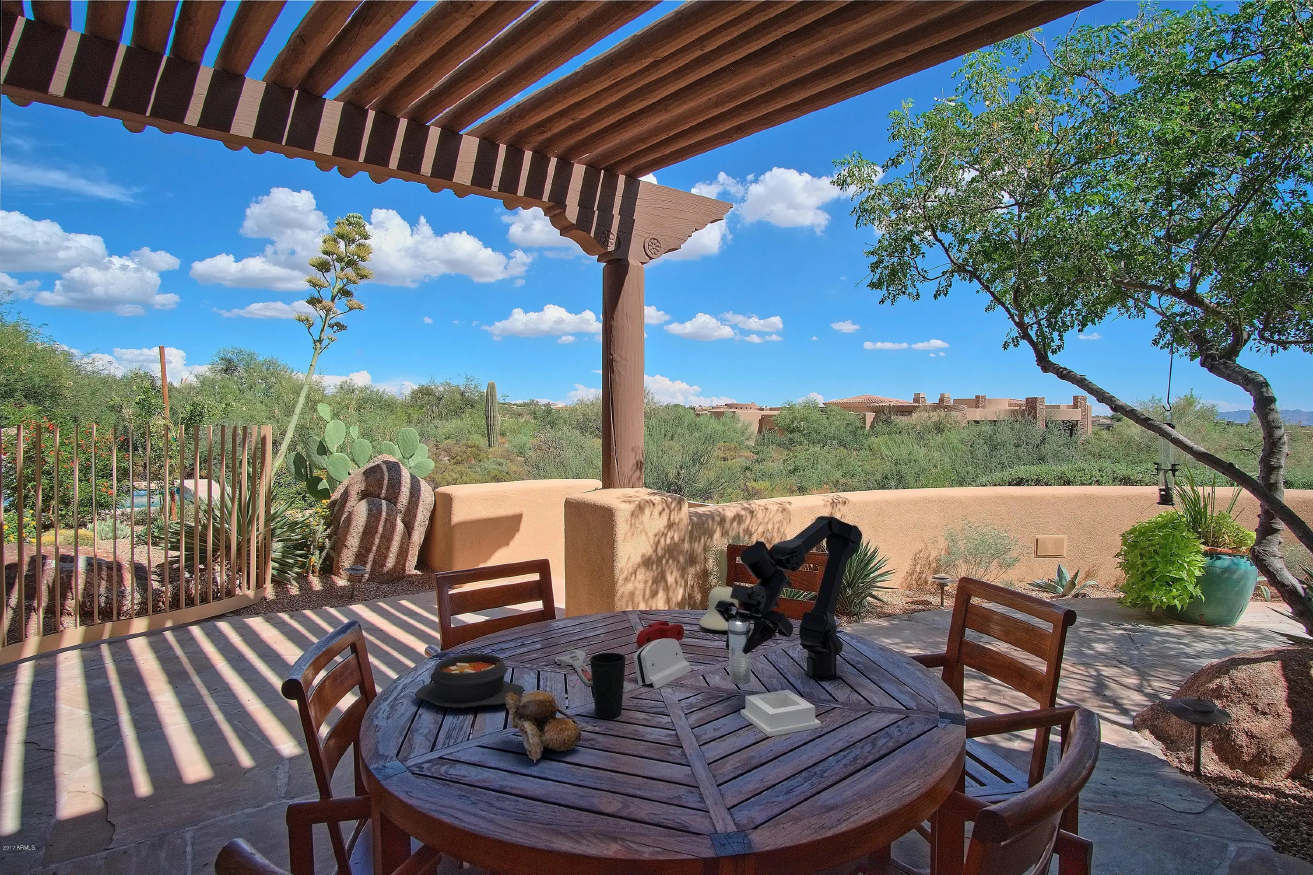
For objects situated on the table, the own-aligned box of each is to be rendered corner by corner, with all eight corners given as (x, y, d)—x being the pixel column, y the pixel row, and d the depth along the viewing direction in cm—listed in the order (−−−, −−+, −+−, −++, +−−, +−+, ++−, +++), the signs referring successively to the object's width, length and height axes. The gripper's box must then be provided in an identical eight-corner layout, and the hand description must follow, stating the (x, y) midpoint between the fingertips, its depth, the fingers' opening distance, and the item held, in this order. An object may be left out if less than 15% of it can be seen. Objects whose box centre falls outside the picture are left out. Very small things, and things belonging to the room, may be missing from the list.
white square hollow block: (789, 706, 150) (789, 687, 150) (820, 727, 139) (820, 707, 139) (740, 714, 146) (740, 695, 146) (768, 736, 135) (768, 716, 135)
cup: (631, 709, 149) (631, 654, 149) (618, 722, 142) (617, 664, 142) (599, 705, 152) (598, 650, 152) (584, 718, 145) (584, 661, 145)
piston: (742, 675, 152) (741, 616, 152) (756, 681, 148) (755, 621, 148) (724, 679, 150) (723, 619, 150) (738, 686, 146) (737, 624, 146)
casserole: (537, 689, 162) (537, 654, 162) (501, 720, 144) (501, 680, 144) (442, 682, 168) (442, 647, 168) (396, 710, 150) (396, 672, 150)
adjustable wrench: (564, 692, 162) (564, 682, 162) (553, 658, 187) (553, 650, 187) (599, 689, 164) (599, 680, 164) (583, 656, 189) (583, 648, 189)
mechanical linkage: (665, 635, 208) (665, 619, 208) (684, 639, 203) (684, 622, 203) (630, 647, 196) (630, 630, 196) (649, 652, 191) (649, 634, 191)
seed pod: (522, 692, 142) (485, 693, 129) (594, 680, 139) (564, 680, 125) (526, 761, 137) (488, 770, 124) (601, 750, 134) (570, 758, 120)
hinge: (655, 689, 162) (643, 646, 164) (640, 692, 164) (628, 650, 166) (692, 669, 175) (681, 630, 177) (678, 672, 178) (666, 634, 180)
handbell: (734, 637, 204) (733, 553, 204) (690, 630, 212) (689, 550, 212) (756, 626, 217) (755, 546, 217) (714, 619, 225) (713, 543, 225)
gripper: (719, 564, 159) (686, 621, 151) (784, 575, 145) (751, 638, 137) (742, 593, 164) (711, 649, 156) (807, 606, 150) (776, 668, 143)
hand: (735, 650), depth 148 cm, fingers closed on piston, 5 cm apart
